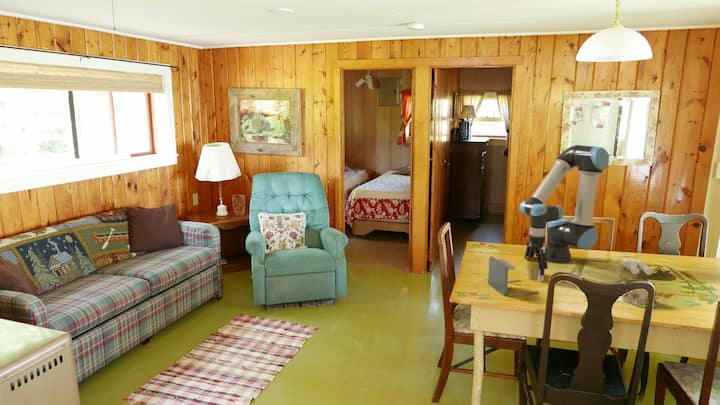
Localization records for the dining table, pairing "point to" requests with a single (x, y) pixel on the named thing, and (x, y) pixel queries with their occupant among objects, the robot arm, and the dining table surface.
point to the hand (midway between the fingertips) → (534, 277)
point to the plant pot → (532, 267)
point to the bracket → (501, 276)
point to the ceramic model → (638, 298)
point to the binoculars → (637, 266)
